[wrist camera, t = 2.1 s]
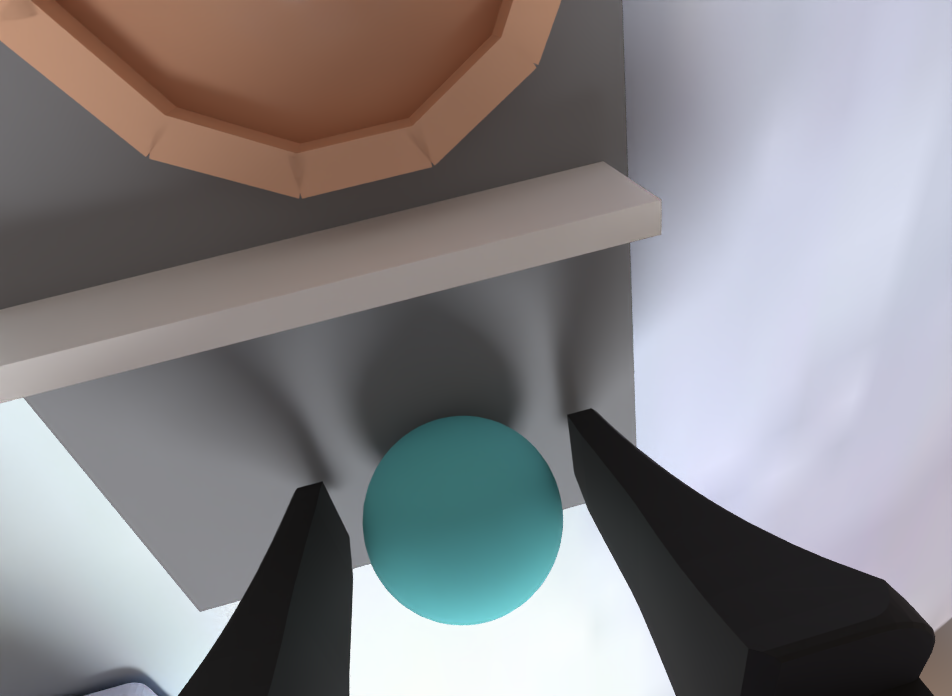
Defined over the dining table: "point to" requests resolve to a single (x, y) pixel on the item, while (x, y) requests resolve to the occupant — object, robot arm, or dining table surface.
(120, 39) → the saucer
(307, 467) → the mat
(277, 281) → the wall
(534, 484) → the ball
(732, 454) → the dining table surface
